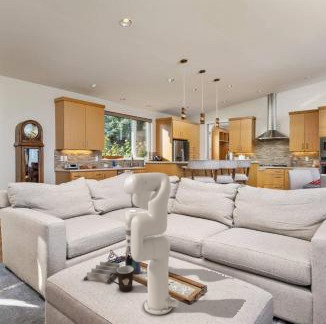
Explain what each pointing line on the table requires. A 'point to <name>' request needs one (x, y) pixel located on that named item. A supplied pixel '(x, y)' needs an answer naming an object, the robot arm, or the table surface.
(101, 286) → the table surface
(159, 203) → the robot arm
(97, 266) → the drying rack
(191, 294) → the table surface
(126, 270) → the coffee mug
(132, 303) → the table surface
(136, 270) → the flask
